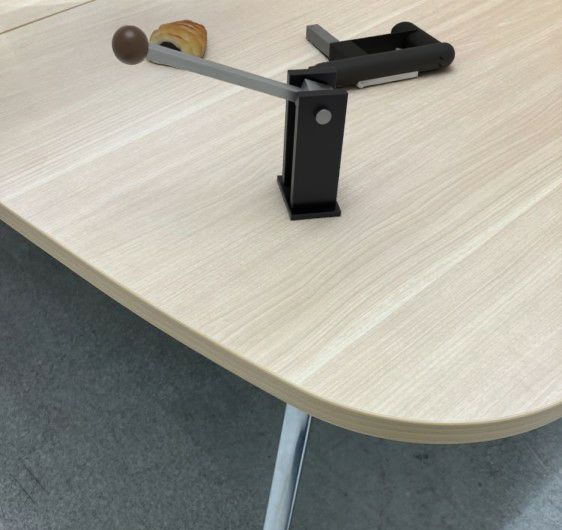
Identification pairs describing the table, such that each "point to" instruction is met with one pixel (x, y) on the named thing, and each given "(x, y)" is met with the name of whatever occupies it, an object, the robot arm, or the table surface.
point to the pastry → (181, 37)
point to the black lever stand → (313, 146)
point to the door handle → (381, 54)
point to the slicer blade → (199, 65)
